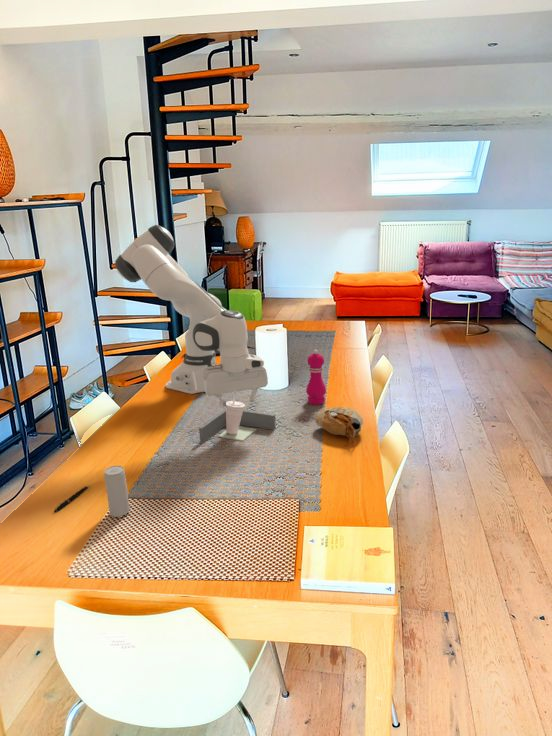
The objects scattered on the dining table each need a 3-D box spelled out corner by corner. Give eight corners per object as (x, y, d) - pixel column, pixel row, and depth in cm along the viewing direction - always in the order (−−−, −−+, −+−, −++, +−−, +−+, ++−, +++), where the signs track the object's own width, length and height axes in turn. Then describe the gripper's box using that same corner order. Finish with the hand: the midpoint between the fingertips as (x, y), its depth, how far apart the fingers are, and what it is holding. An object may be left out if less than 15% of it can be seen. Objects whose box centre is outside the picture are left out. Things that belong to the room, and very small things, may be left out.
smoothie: (227, 426, 185) (231, 386, 181) (244, 431, 183) (249, 391, 179) (218, 432, 179) (223, 391, 176) (236, 437, 177) (241, 395, 173)
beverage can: (112, 508, 141) (106, 466, 137) (131, 507, 141) (125, 464, 138) (108, 519, 137) (101, 475, 133) (128, 517, 137) (122, 474, 133)
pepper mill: (324, 405, 202) (324, 352, 196) (305, 404, 203) (304, 352, 197) (327, 398, 209) (326, 347, 202) (308, 397, 210) (307, 346, 204)
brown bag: (372, 450, 168) (323, 455, 168) (357, 418, 188) (313, 423, 187) (372, 427, 165) (322, 432, 165) (357, 397, 185) (312, 401, 185)
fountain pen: (89, 486, 153) (88, 481, 152) (92, 486, 153) (91, 481, 152) (52, 513, 140) (51, 508, 140) (56, 514, 140) (55, 509, 139)
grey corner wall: (200, 442, 176) (199, 427, 175) (228, 420, 192) (227, 407, 190) (250, 451, 169) (250, 436, 167) (275, 428, 184) (275, 414, 183)
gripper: (204, 370, 168) (208, 412, 172) (268, 360, 175) (270, 401, 179) (200, 364, 174) (203, 405, 178) (261, 355, 180) (263, 395, 185)
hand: (237, 403), depth 179 cm, fingers open, 8 cm apart
